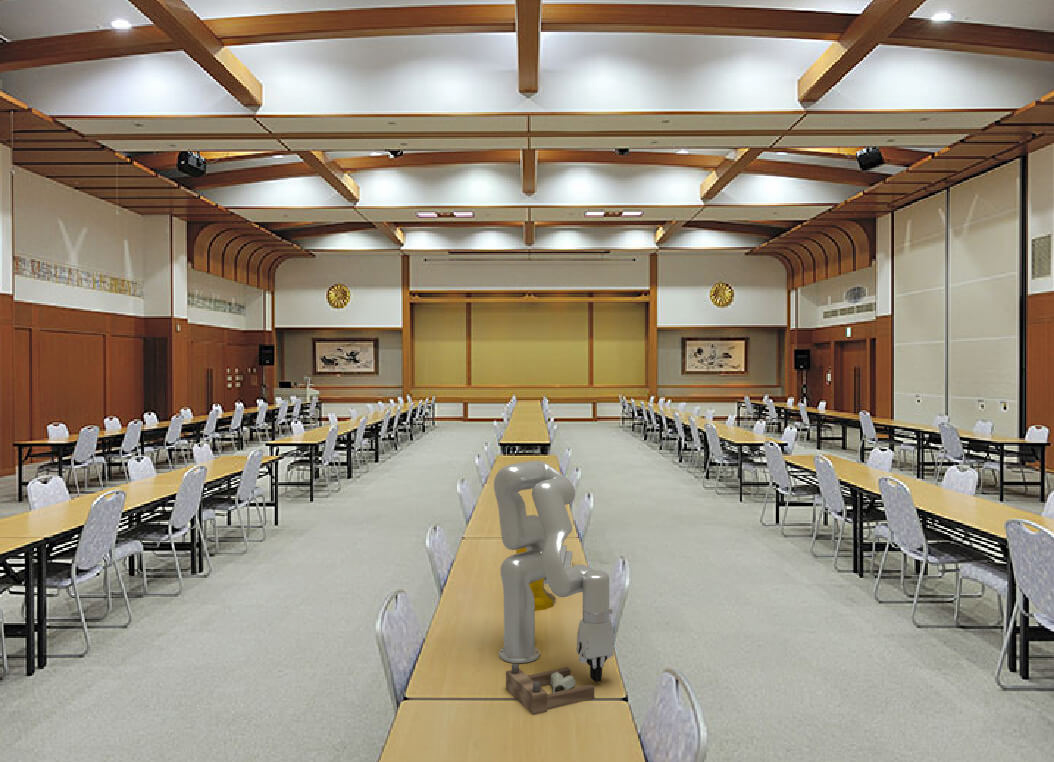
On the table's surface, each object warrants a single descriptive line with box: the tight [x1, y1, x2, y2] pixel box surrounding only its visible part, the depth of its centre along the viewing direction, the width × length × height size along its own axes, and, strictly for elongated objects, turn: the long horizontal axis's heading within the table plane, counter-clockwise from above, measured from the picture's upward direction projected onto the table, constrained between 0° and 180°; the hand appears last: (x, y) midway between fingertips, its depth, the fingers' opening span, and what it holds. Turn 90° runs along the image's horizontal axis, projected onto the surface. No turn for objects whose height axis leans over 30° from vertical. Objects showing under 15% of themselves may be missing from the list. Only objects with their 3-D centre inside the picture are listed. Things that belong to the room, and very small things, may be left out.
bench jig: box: [505, 663, 595, 716], centre depth 202 cm, size 17×19×7 cm
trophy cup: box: [515, 548, 557, 612], centre depth 279 cm, size 18×24×28 cm
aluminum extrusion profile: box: [544, 544, 574, 585], centre depth 319 cm, size 14×31×10 cm, turn 174°
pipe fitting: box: [550, 672, 576, 693], centre depth 204 cm, size 8×4×7 cm
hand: (596, 680), depth 208 cm, fingers closed
